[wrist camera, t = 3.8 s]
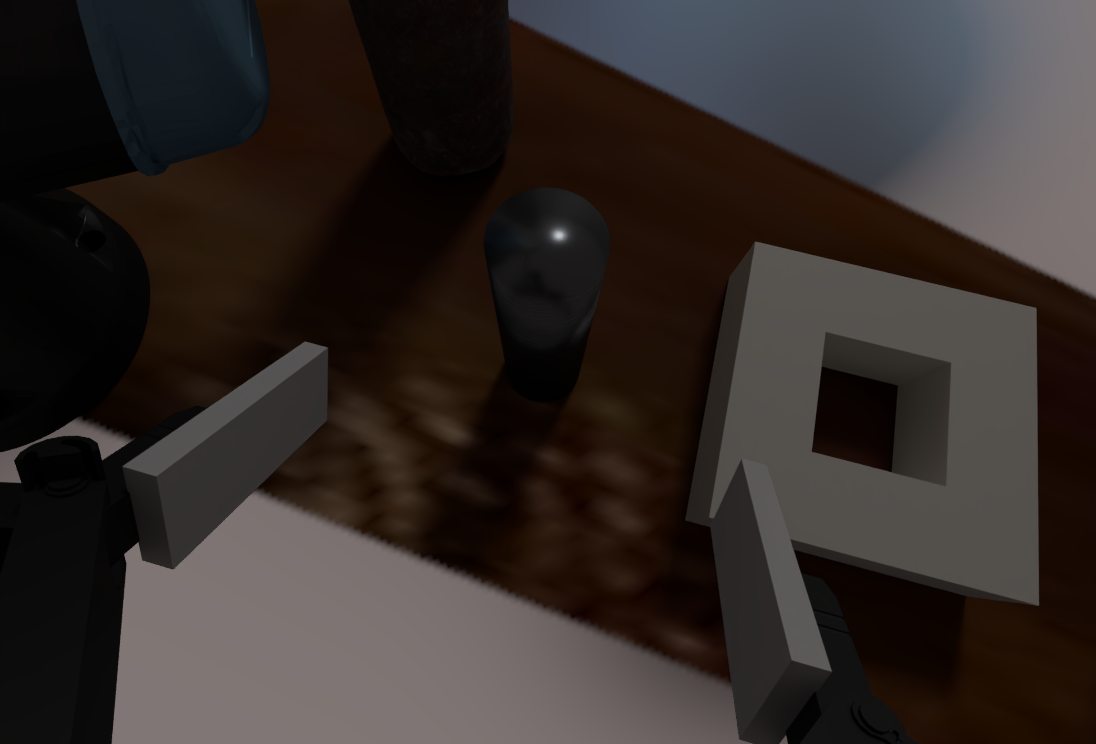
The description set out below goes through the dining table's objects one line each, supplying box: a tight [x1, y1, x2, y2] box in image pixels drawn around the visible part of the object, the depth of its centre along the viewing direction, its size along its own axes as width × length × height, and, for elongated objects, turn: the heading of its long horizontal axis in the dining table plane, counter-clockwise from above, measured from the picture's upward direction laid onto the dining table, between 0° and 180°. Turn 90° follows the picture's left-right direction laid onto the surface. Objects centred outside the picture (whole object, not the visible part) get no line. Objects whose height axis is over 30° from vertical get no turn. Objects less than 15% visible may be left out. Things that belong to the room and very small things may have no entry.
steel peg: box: [484, 188, 610, 402], centre depth 23 cm, size 4×4×13 cm
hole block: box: [685, 242, 1039, 606], centre depth 27 cm, size 14×14×4 cm
